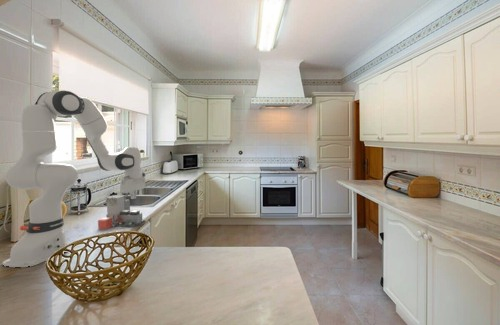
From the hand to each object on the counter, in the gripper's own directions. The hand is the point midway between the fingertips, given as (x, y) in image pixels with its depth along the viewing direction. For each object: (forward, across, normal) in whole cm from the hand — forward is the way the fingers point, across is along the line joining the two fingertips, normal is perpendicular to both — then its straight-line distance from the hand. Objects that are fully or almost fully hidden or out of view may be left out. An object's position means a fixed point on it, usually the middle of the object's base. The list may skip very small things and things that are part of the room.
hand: (133, 198), depth 149 cm
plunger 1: (+14, +1, +6) cm, 15 cm away
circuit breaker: (+15, +9, +15) cm, 23 cm away
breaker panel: (+15, +1, +3) cm, 16 cm away
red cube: (+15, -7, +13) cm, 22 cm away
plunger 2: (+14, +1, 0) cm, 14 cm away
